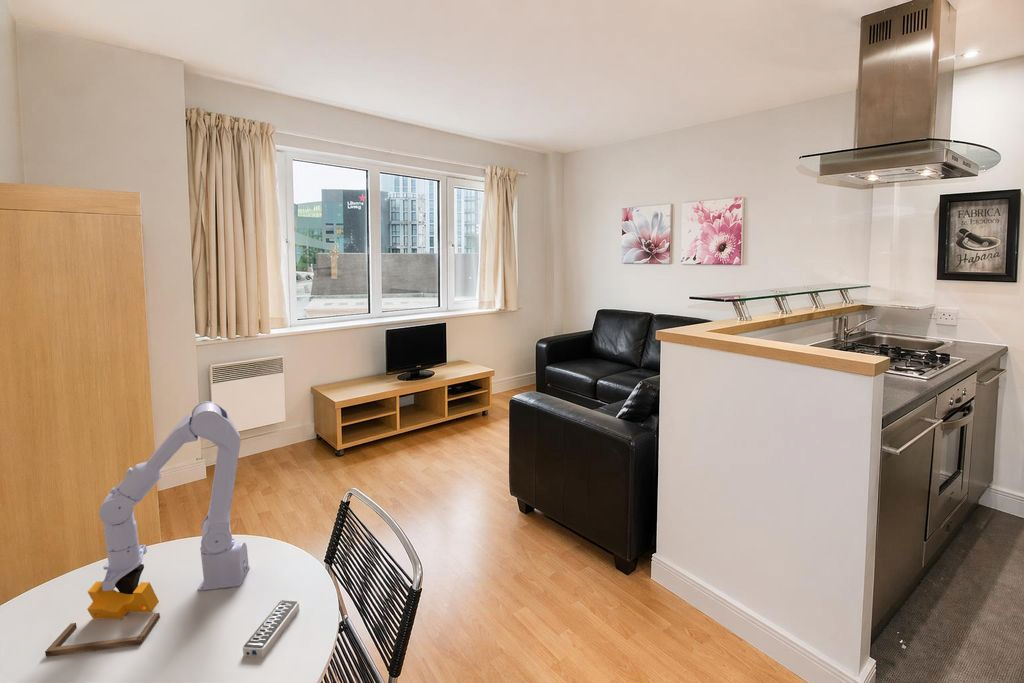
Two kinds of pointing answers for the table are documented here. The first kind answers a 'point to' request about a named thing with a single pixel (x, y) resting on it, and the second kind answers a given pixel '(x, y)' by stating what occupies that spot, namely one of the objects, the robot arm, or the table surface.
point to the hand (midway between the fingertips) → (130, 599)
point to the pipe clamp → (120, 601)
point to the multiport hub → (270, 629)
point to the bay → (99, 645)
